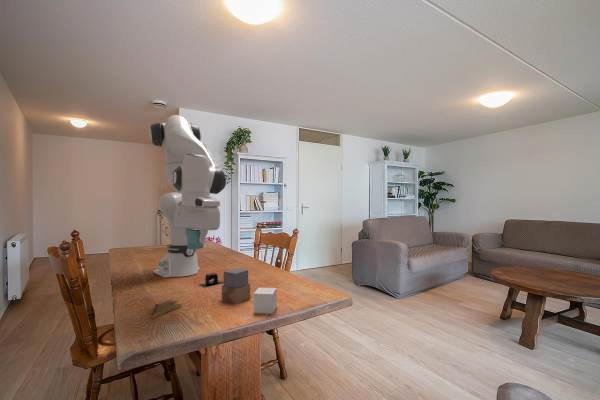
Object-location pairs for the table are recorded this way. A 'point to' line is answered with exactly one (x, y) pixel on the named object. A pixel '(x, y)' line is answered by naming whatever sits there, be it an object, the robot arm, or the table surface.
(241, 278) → the tower upper block
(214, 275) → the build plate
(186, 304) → the table surface
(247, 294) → the tower lower block
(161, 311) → the shard
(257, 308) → the white cube
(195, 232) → the teal cylinder
